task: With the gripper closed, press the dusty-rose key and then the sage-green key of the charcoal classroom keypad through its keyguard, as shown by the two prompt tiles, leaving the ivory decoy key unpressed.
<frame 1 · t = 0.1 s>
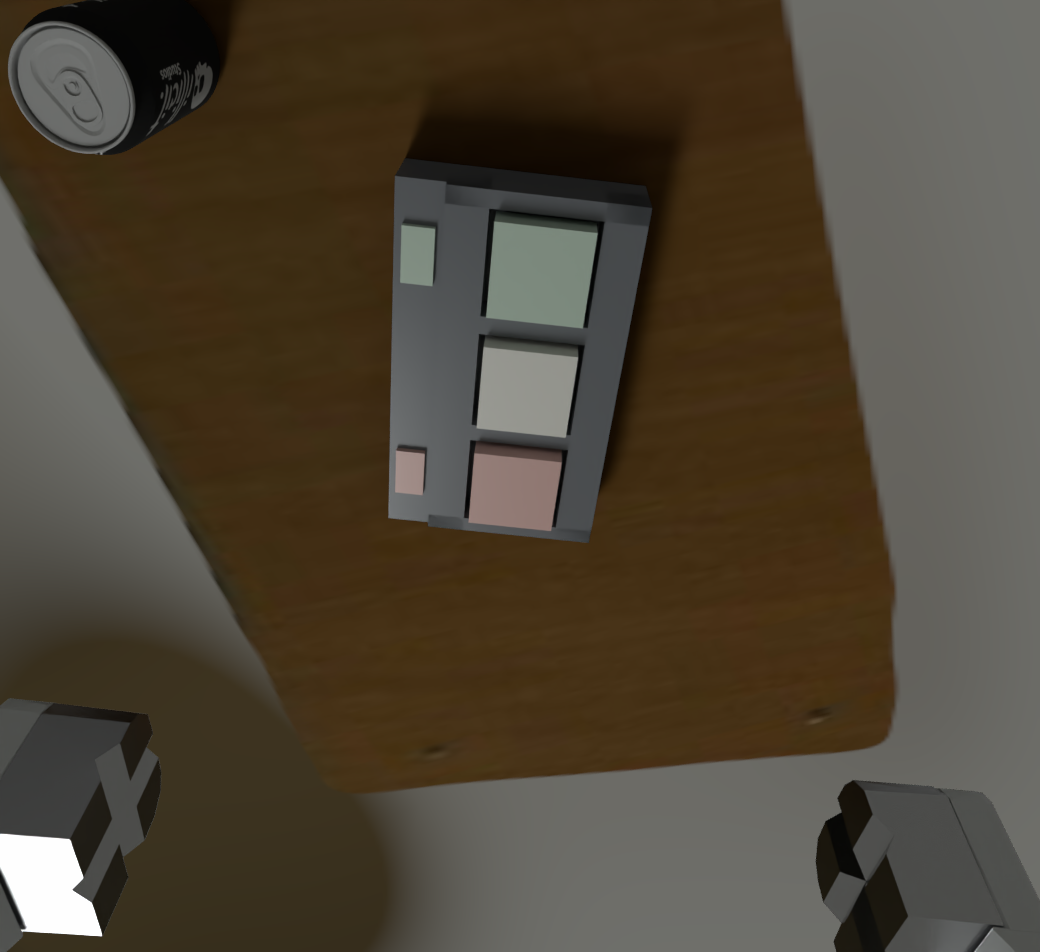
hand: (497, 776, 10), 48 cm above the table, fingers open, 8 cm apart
sage key: (540, 270, 52), point 5 cm above the table, slide at 0.0 cm
ivory key: (526, 386, 56), point 4 cm above the table, slide at 0.0 cm
beverage can: (168, 50, 50), on the table
keypad: (528, 356, 60), on the table
rose key: (514, 485, 61), point 5 cm above the table, slide at 0.0 cm
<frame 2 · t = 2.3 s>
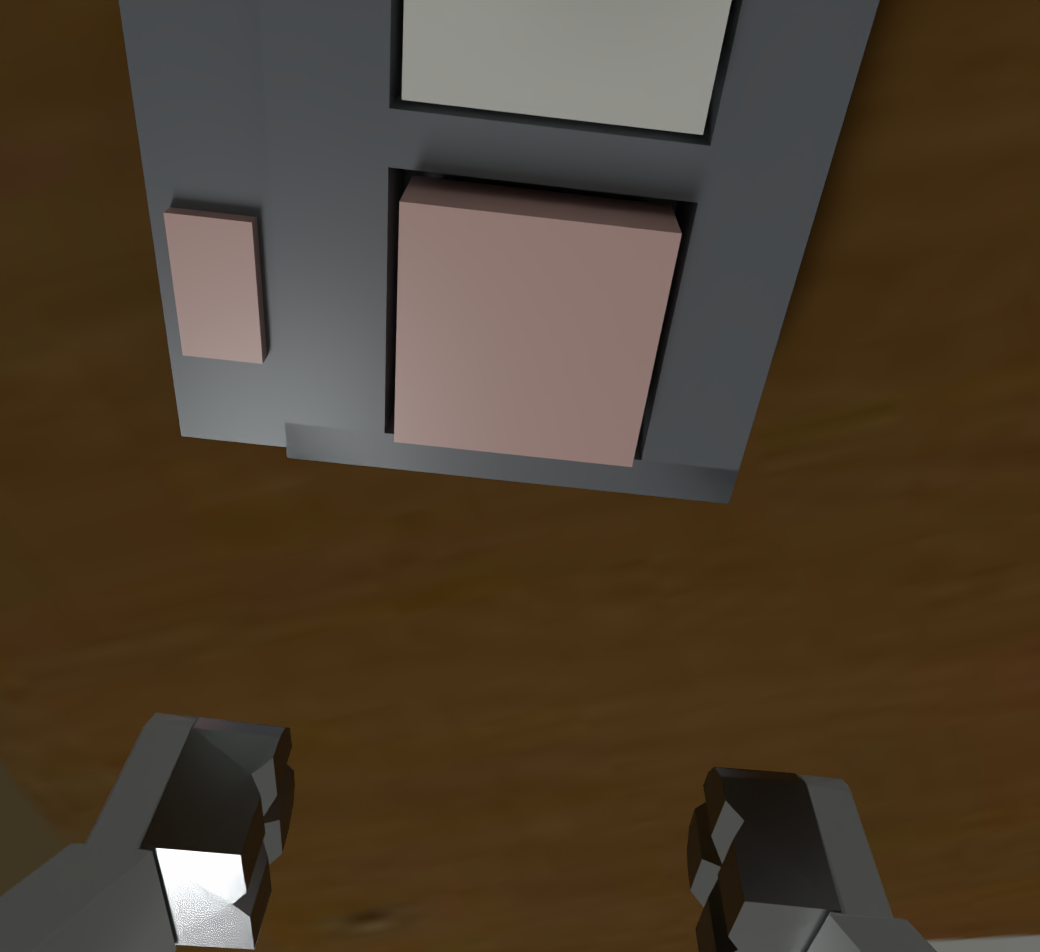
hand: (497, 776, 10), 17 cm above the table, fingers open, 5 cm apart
rose key: (527, 328, 21), point 5 cm above the table, slide at 0.0 cm
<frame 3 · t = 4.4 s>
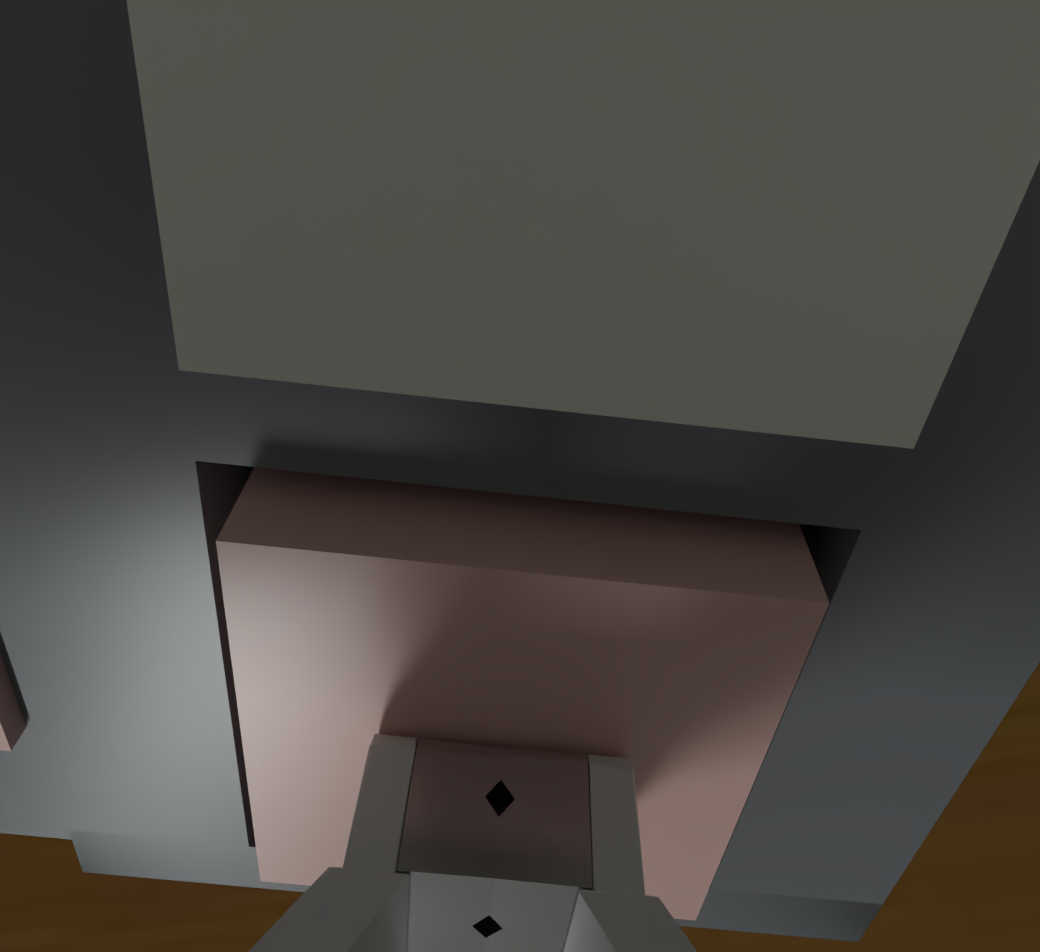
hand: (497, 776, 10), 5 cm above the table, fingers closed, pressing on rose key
rose key: (503, 698, 11), point 4 cm above the table, slide at 0.3 cm, touching gripper
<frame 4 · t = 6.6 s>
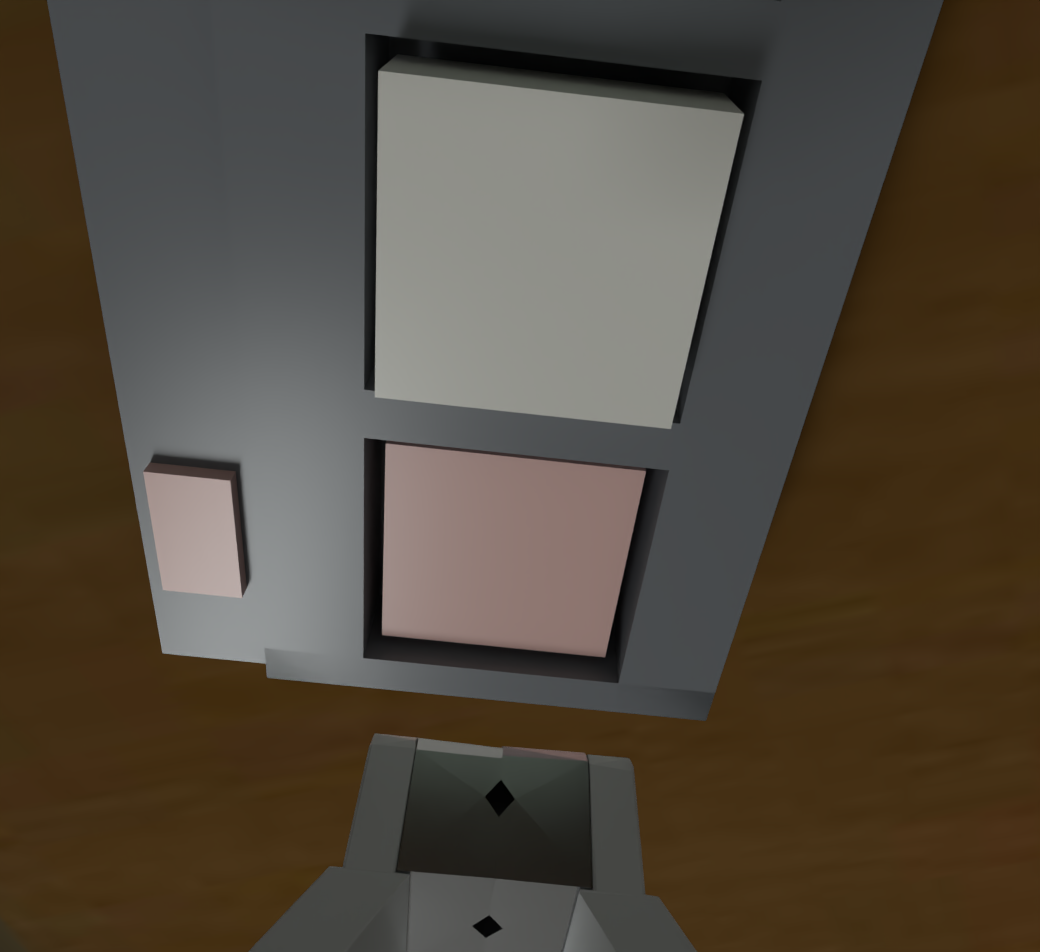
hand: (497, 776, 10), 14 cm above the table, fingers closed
ivory key: (541, 251, 16), point 5 cm above the table, slide at 0.0 cm
keypad: (544, 189, 20), on the table
rose key: (506, 534, 22), point 3 cm above the table, slide at 1.5 cm, touching keypad
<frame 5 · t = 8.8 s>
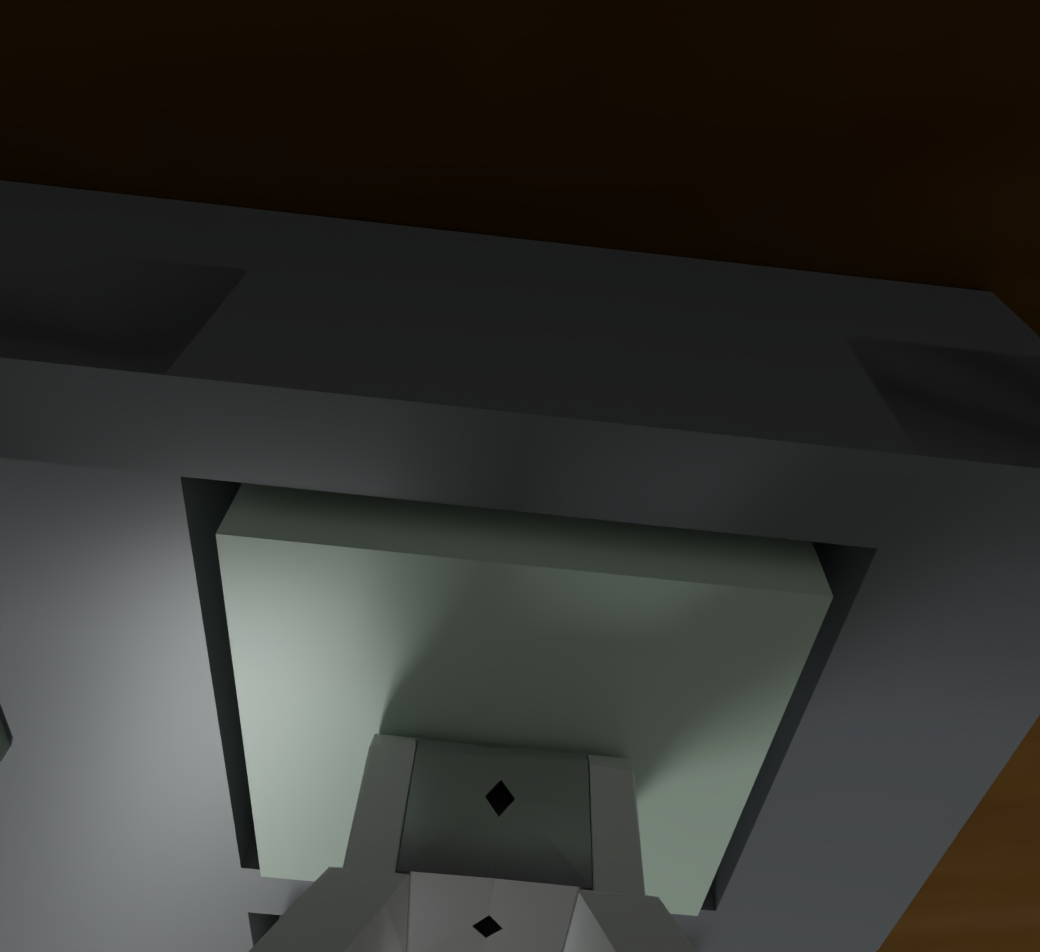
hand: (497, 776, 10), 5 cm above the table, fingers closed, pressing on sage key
sage key: (504, 692, 11), point 4 cm above the table, slide at 0.7 cm, touching gripper
keypad: (479, 802, 18), on the table
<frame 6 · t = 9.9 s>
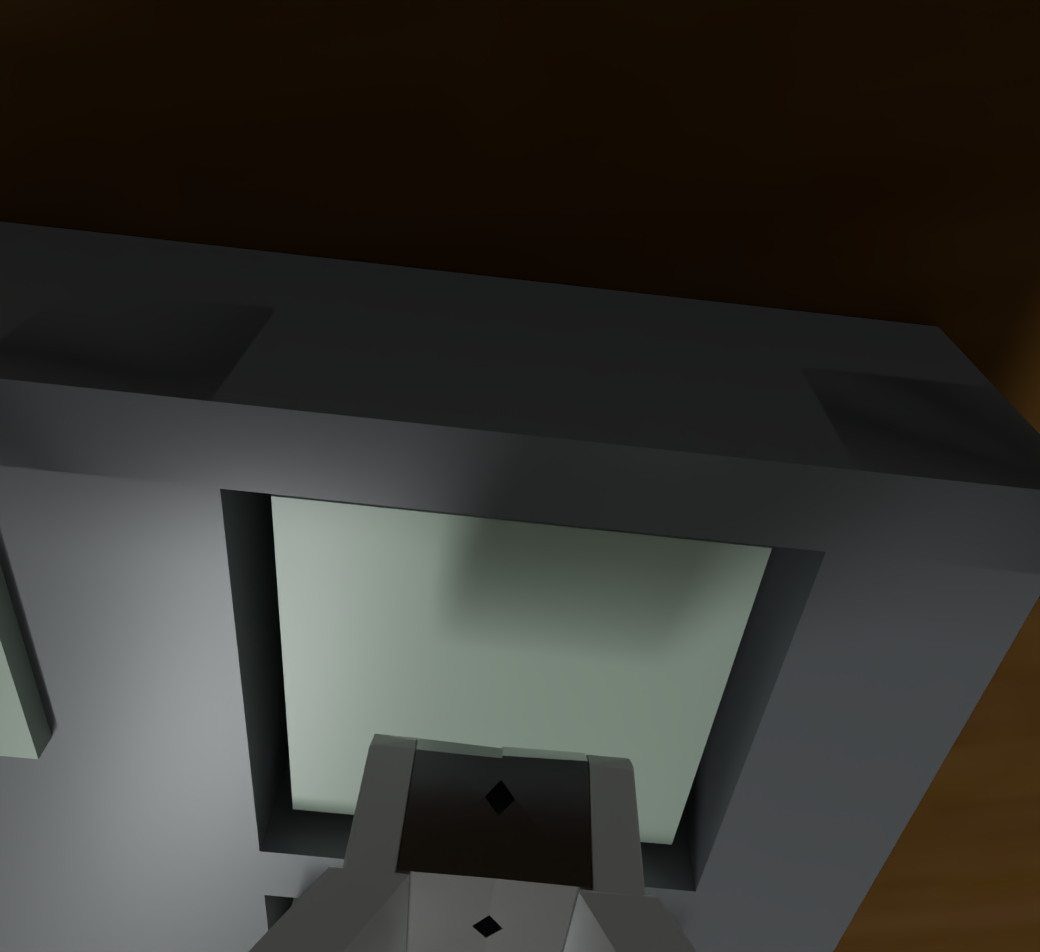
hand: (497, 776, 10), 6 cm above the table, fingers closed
sage key: (504, 644, 13), point 3 cm above the table, slide at 1.5 cm, touching keypad
keypad: (478, 803, 20), on the table
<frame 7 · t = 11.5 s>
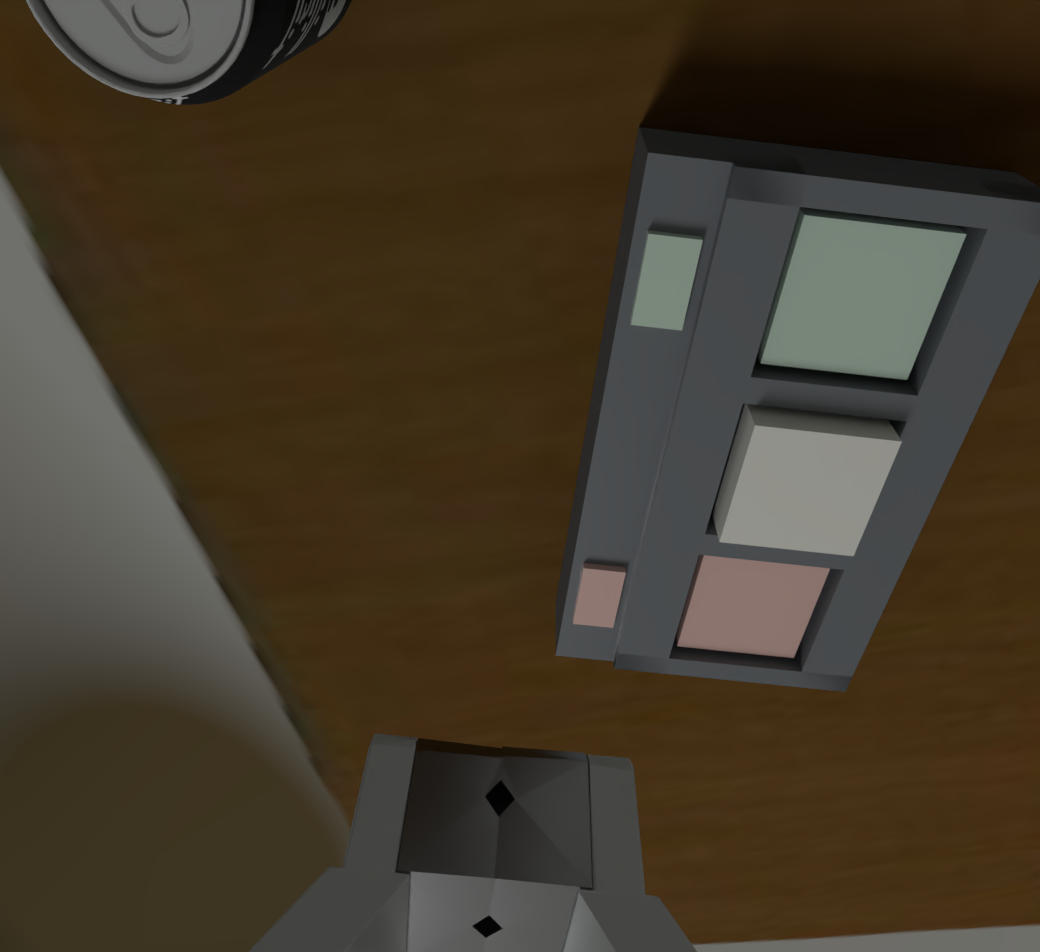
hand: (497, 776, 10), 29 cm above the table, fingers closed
sage key: (851, 292, 33), point 3 cm above the table, slide at 1.5 cm, touching keypad
ivory key: (800, 480, 37), point 4 cm above the table, slide at 0.0 cm
keypad: (778, 426, 40), on the table
rose key: (747, 595, 42), point 3 cm above the table, slide at 1.5 cm, touching keypad
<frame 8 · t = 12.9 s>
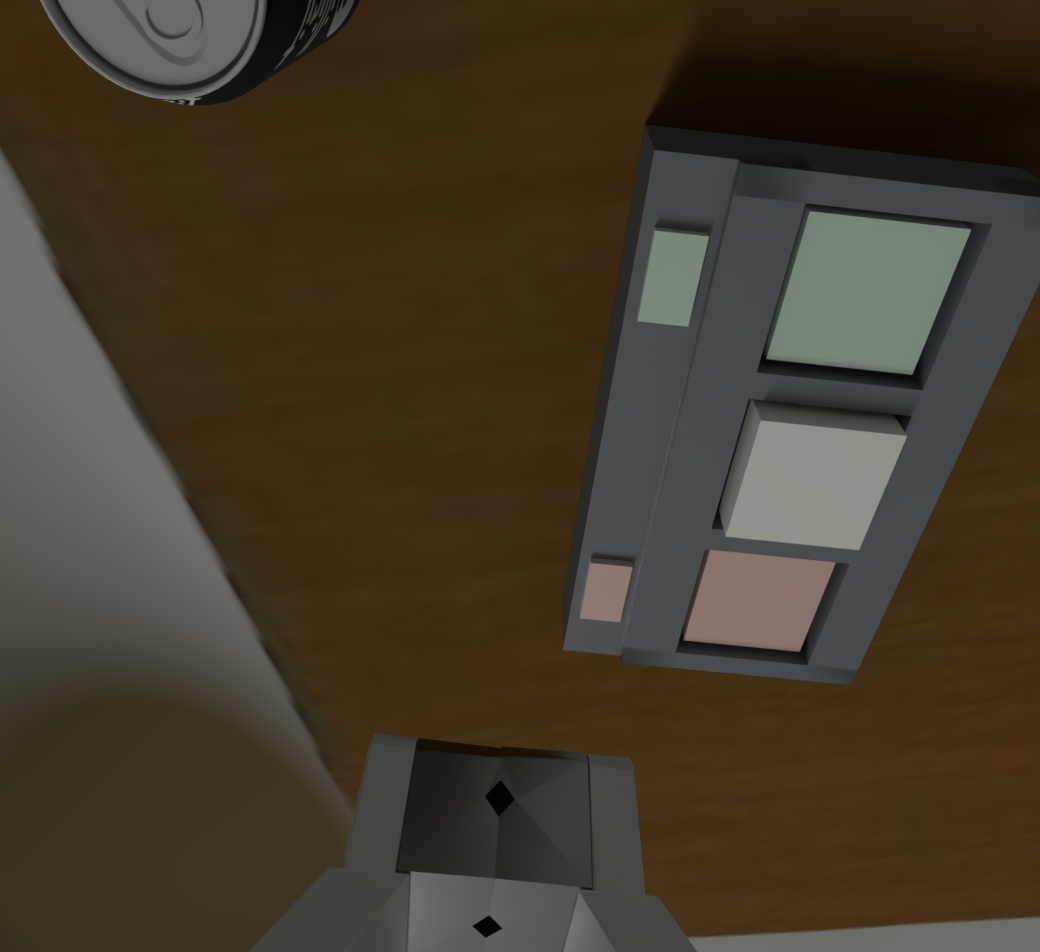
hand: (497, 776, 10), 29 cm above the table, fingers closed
sage key: (856, 287, 34), point 3 cm above the table, slide at 1.5 cm, touching keypad
ivory key: (806, 475, 37), point 4 cm above the table, slide at 0.0 cm
keypad: (783, 421, 41), on the table
rose key: (752, 589, 43), point 3 cm above the table, slide at 1.5 cm, touching keypad
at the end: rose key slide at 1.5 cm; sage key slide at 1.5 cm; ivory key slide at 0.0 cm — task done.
